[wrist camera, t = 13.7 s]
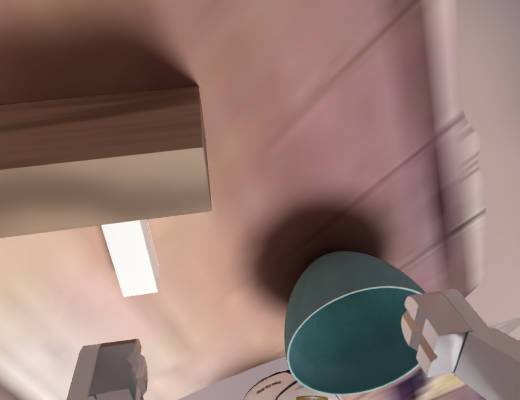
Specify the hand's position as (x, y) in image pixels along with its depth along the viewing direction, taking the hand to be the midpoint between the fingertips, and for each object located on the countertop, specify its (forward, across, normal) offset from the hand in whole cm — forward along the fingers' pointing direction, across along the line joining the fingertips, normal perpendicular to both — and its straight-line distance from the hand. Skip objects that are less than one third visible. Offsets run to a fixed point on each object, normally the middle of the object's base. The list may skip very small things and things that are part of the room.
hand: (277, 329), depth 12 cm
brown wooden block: (+33, +12, +5) cm, 35 cm away
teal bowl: (+32, -14, +29) cm, 46 cm away
